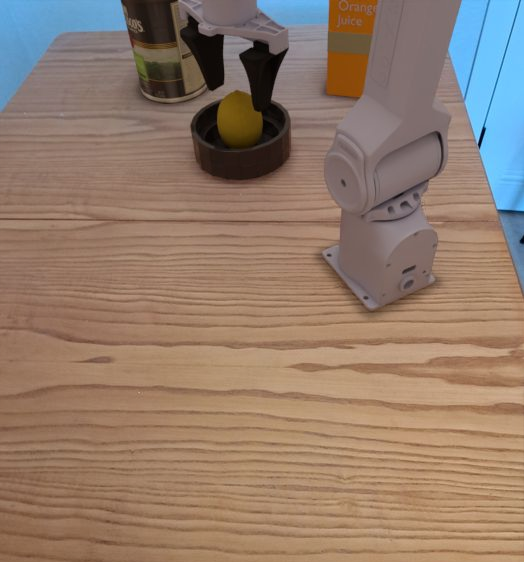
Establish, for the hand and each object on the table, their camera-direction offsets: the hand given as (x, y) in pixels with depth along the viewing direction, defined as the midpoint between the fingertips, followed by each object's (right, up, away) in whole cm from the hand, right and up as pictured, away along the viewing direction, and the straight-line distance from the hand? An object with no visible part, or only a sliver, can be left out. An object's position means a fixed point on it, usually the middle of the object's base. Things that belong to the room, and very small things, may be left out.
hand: (238, 97), depth 67 cm
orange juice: (+17, +9, +15) cm, 24 cm away
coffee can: (-10, +9, +18) cm, 23 cm away
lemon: (0, -4, +6) cm, 7 cm away
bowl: (0, -5, +6) cm, 8 cm away
